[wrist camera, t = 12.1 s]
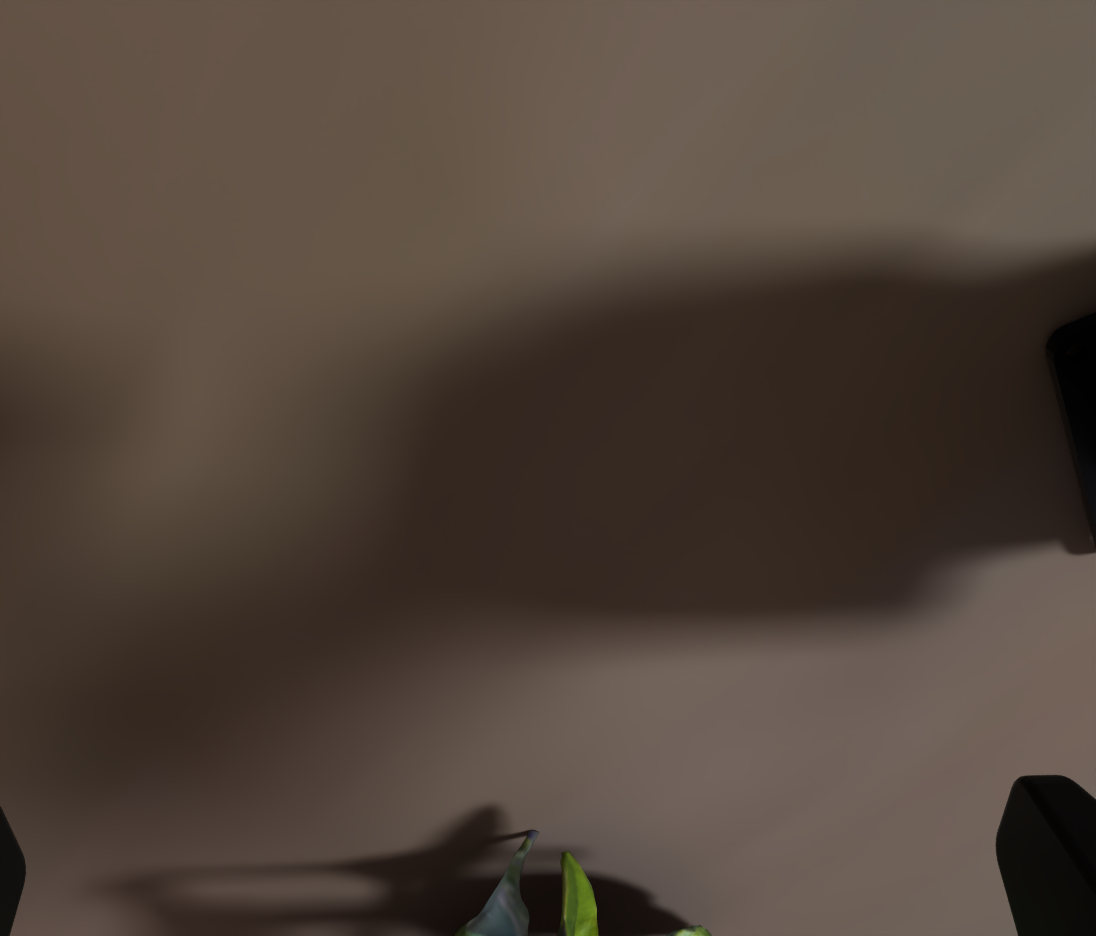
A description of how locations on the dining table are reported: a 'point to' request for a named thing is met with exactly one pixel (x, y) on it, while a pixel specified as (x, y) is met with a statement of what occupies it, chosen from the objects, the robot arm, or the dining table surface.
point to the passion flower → (507, 918)
